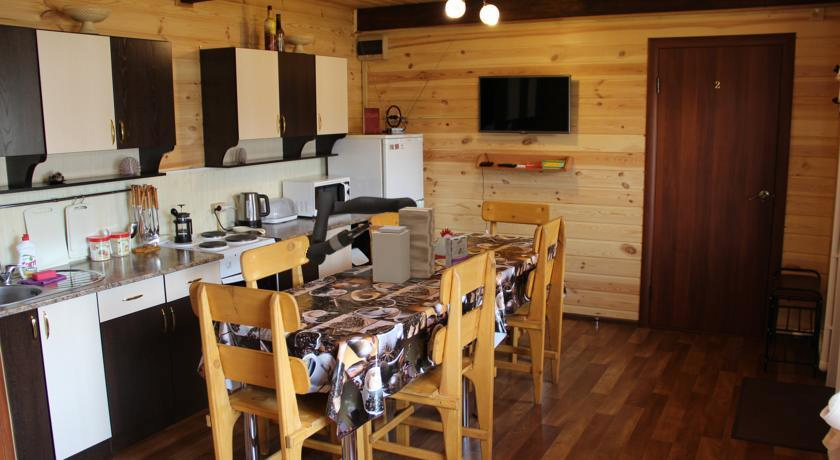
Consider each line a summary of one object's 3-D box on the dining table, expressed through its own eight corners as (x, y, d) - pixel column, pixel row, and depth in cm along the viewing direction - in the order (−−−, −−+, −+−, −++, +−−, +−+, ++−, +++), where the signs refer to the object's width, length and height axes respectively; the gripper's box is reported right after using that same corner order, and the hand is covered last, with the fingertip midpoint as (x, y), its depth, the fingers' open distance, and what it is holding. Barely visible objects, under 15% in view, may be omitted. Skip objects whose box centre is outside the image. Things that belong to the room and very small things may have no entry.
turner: (363, 227, 354) (363, 222, 354) (406, 229, 347) (406, 225, 347) (355, 230, 346) (355, 225, 346) (399, 232, 339) (399, 228, 338)
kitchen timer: (428, 255, 403) (428, 228, 401) (448, 252, 412) (448, 225, 409) (445, 259, 392) (444, 231, 390) (464, 256, 401) (464, 228, 398)
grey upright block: (382, 276, 357) (381, 228, 353) (410, 277, 352) (409, 230, 348) (373, 281, 346) (371, 232, 342) (401, 283, 341) (400, 234, 337)
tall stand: (407, 271, 366) (406, 206, 360) (434, 273, 361) (434, 207, 356) (399, 276, 356) (398, 210, 350) (427, 278, 351) (426, 211, 345)
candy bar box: (461, 267, 374) (461, 235, 371) (468, 269, 370) (468, 236, 367) (445, 270, 367) (444, 237, 364) (451, 272, 363) (451, 239, 360)
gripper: (331, 235, 348) (360, 219, 342) (344, 230, 361) (372, 214, 354) (338, 250, 348) (368, 233, 341) (351, 244, 361) (379, 228, 354)
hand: (370, 224), depth 348 cm, fingers closed on turner, 2 cm apart
